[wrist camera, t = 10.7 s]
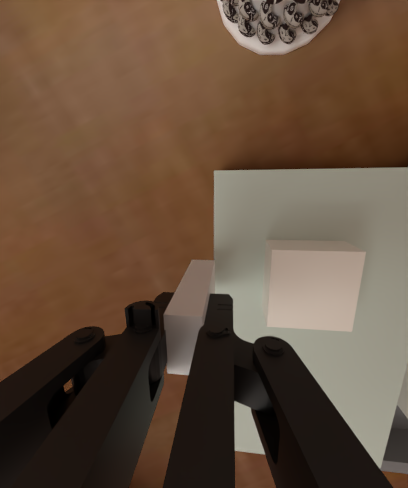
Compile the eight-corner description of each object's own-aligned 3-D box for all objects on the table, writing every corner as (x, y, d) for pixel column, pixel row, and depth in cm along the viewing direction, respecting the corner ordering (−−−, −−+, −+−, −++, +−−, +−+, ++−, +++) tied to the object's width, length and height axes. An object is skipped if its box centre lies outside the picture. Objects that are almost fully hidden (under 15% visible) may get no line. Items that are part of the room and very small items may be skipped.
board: (355, 421, 23) (380, 468, 19) (216, 406, 25) (213, 448, 21) (406, 170, 17) (457, 166, 13) (217, 173, 19) (214, 170, 15)
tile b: (334, 309, 16) (352, 331, 14) (261, 306, 17) (266, 326, 14) (344, 240, 15) (366, 252, 13) (265, 239, 16) (272, 249, 13)
